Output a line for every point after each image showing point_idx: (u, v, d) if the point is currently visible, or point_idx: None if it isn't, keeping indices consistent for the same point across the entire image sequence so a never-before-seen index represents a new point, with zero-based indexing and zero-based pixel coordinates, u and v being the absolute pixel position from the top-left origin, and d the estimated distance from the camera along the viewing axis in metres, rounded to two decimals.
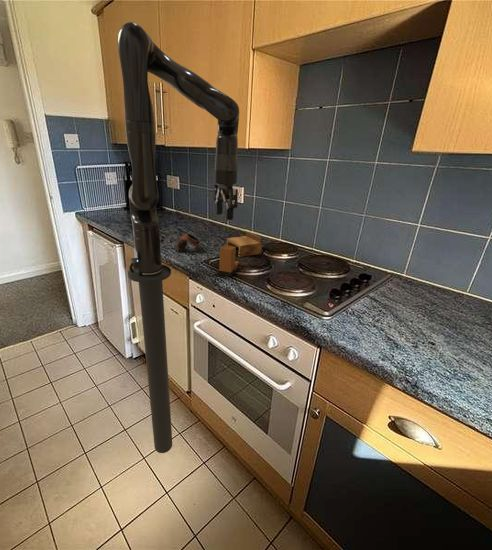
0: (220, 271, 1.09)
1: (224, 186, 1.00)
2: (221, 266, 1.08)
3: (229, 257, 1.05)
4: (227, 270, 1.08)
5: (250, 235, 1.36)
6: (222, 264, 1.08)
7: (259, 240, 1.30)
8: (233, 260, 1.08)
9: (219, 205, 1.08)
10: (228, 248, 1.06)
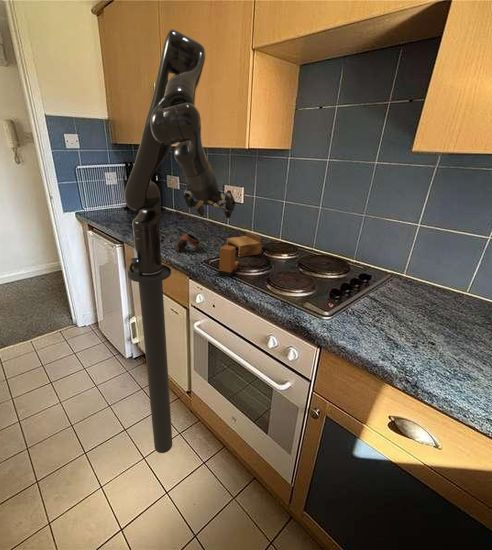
0: (220, 271, 1.09)
1: None
2: (221, 266, 1.08)
3: (229, 257, 1.05)
4: (227, 270, 1.08)
5: (250, 235, 1.36)
6: (222, 264, 1.08)
7: (259, 240, 1.30)
8: (233, 260, 1.08)
9: None
10: (228, 248, 1.06)
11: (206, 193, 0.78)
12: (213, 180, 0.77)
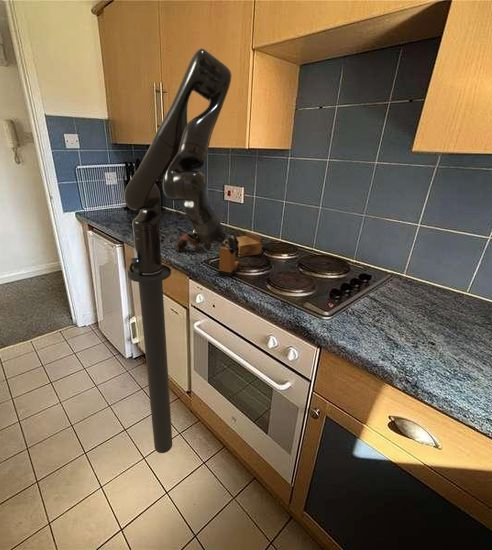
0: (220, 271, 1.09)
1: None
2: (221, 266, 1.08)
3: (229, 257, 1.05)
4: (227, 270, 1.08)
5: (250, 235, 1.36)
6: (222, 264, 1.08)
7: (259, 240, 1.30)
8: (233, 260, 1.08)
9: None
10: None
11: (211, 237, 0.87)
12: (218, 226, 0.86)
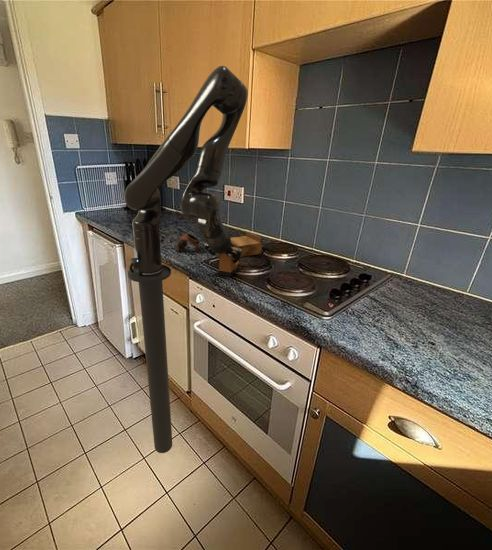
0: (220, 271, 1.09)
1: None
2: (221, 266, 1.08)
3: (229, 257, 1.05)
4: (227, 270, 1.08)
5: (250, 235, 1.36)
6: (222, 264, 1.08)
7: (259, 240, 1.30)
8: None
9: None
10: None
11: (221, 249, 0.95)
12: (227, 239, 0.94)
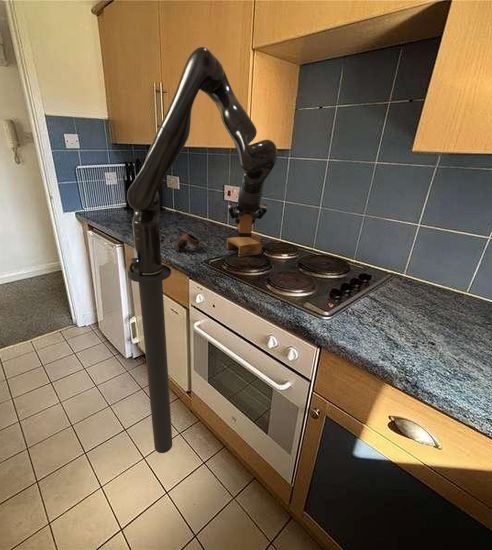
0: (240, 233, 1.11)
1: None
2: (241, 228, 1.10)
3: (250, 218, 1.09)
4: (248, 231, 1.11)
5: None
6: (242, 226, 1.10)
7: (259, 240, 1.30)
8: None
9: None
10: None
11: (256, 205, 0.99)
12: None
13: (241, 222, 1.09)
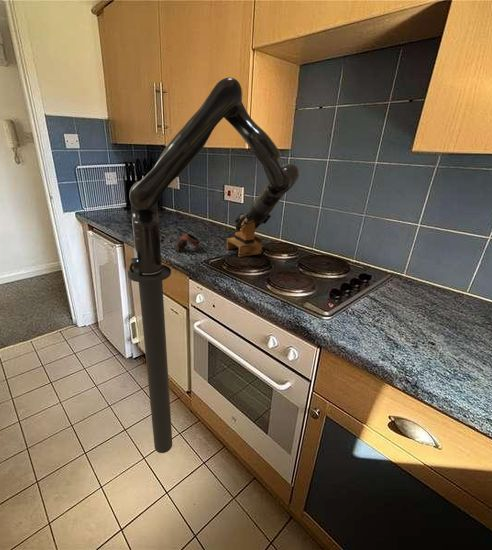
0: (246, 240, 1.27)
1: None
2: (247, 236, 1.27)
3: (253, 226, 1.27)
4: (251, 238, 1.28)
5: None
6: (247, 234, 1.27)
7: (259, 240, 1.30)
8: None
9: (256, 222, 1.28)
10: None
11: (267, 215, 1.17)
12: None
13: (247, 231, 1.26)
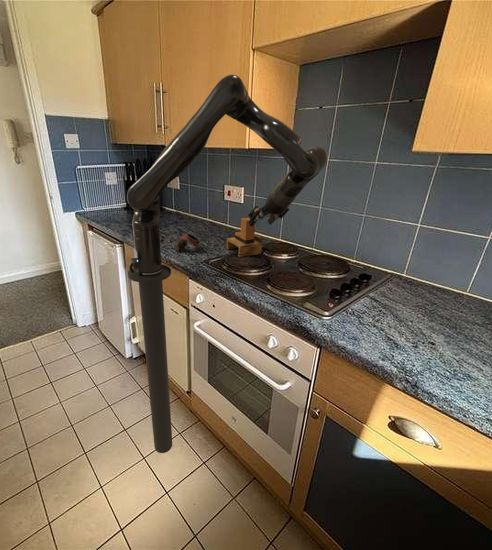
0: (246, 240, 1.27)
1: None
2: (247, 236, 1.27)
3: (253, 226, 1.27)
4: (251, 238, 1.28)
5: None
6: (247, 234, 1.27)
7: (259, 240, 1.30)
8: None
9: (272, 217, 1.13)
10: None
11: (286, 208, 1.02)
12: None
13: (247, 231, 1.26)
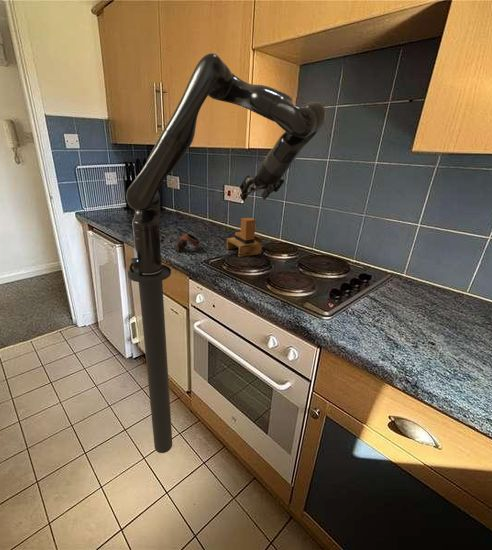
0: (246, 240, 1.27)
1: None
2: (247, 236, 1.27)
3: (253, 226, 1.27)
4: (251, 238, 1.28)
5: None
6: (247, 234, 1.27)
7: (259, 240, 1.30)
8: None
9: (266, 191, 1.04)
10: (250, 219, 1.26)
11: (281, 177, 0.93)
12: None
13: (247, 231, 1.26)
